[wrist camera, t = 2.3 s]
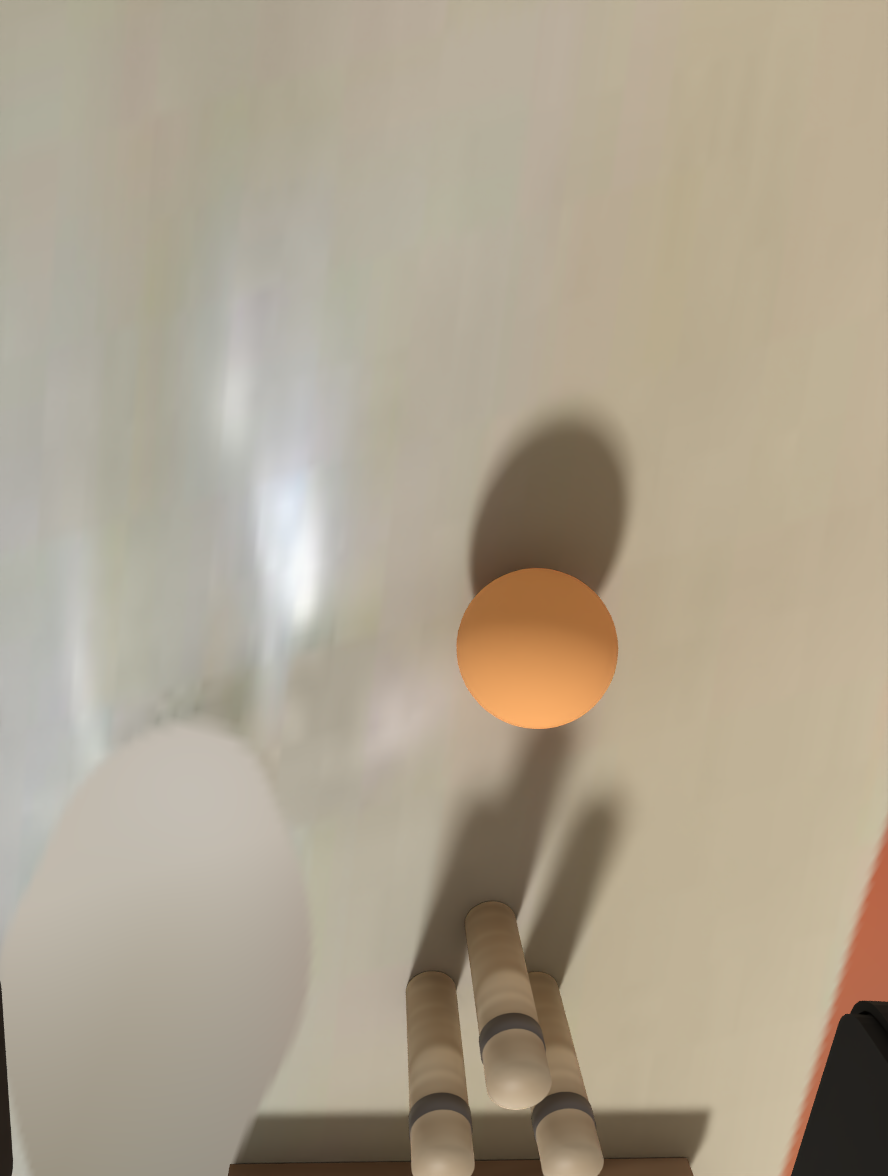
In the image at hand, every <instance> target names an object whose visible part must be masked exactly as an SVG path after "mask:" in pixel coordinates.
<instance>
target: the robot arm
mask: <svg viewBox="0 0 888 1176" xmlns="http://www.w3.org/2000/svg"><path fill="white" fill-rule="evenodd" d="M12 1169H13V1155H12V1140H11V1125H10V1110H9V1095H8V1080H7V1066H6V1051H5V1036H4V1021H3V1006H2V991H1V983H0V1176H12ZM791 1176H888V1002H881V1001H859V1002H858V1003H856V1004H855V1005H854V1007H853V1009H852V1011H851V1013H850V1014H845V1015H844V1016H842V1018H841V1019H840V1021H839V1024H838V1027H837V1030H836V1034H835V1037H834V1040H833V1043H832V1046H831V1050H830V1053H829V1056H828V1059H827V1063H826V1066H825V1069H824V1072H823V1075H822V1078H821V1082H820V1085H819V1088H818V1091H817V1094H816V1098H815V1101H814V1104H813V1107H812V1110H811V1114H810V1117H809V1120H808V1123H807V1126H806V1130H805V1133H804V1136H803V1139H802V1142H801V1146H800V1149H799V1152H798V1156H797V1159H796V1162H795V1165H794V1168H793V1171H792V1174H791Z"/></svg>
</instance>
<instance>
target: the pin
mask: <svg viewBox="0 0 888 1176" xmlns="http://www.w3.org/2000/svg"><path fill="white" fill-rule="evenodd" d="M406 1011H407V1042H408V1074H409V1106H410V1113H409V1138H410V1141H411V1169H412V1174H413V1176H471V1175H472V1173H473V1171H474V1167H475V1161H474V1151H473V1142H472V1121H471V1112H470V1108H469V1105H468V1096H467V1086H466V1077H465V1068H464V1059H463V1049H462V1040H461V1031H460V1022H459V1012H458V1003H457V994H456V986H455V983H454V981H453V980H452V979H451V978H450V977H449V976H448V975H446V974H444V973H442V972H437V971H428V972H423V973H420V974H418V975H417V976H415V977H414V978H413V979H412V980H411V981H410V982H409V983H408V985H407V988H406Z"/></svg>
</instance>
